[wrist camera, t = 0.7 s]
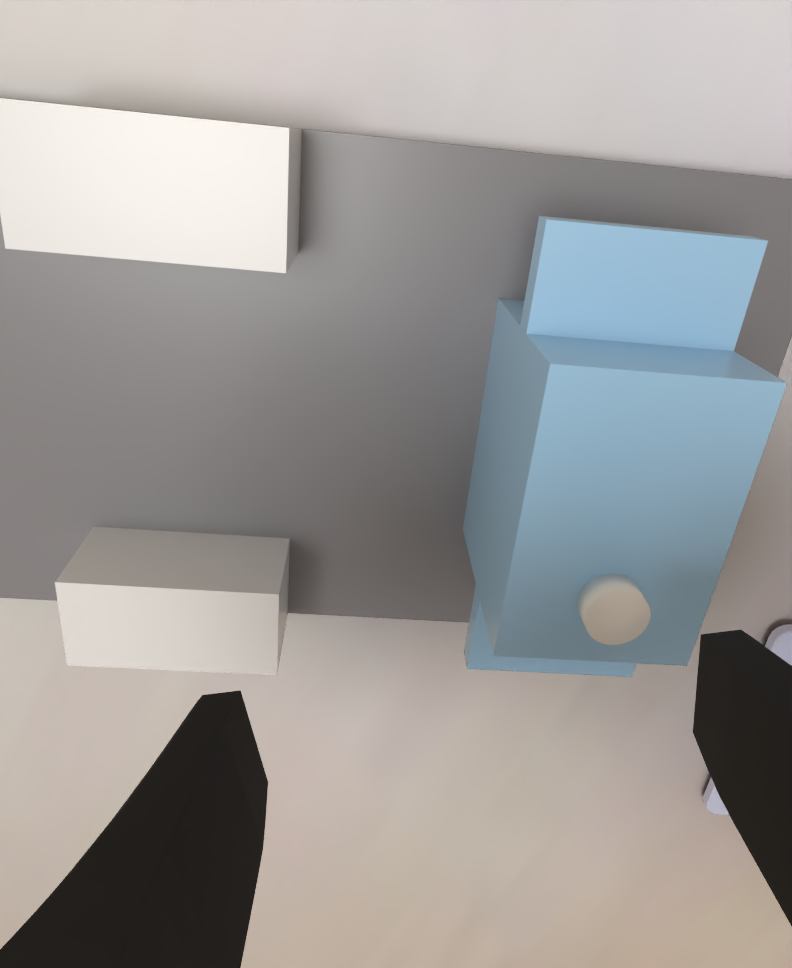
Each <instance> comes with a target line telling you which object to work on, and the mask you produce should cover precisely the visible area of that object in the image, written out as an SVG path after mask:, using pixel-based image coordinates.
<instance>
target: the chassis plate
mask: <svg viewBox="0 0 792 968" xmlns="http://www.w3.org/2000/svg"><path fill="white" fill-rule="evenodd" d="M539 216H546V217H556V218H567V219H577V220H587V221H598V222H608V223H618V224H629V225H639V226H650V227H660V228H670V229H681V230H691V231H701V232H712V233H722V234H732V235H743V236H752V237H756V238H760V239H763V240H767V241H768V243H767V246H766V250H765V253H764V256H763V259H762V262H761V266H760V269H759V272H758V275H757V278H756V282H755V285H754V288H753V291H752V294H751V298H750V301H749V304H748V307H747V310H746V314H745V317H744V320H743V323H742V326H741V330H740V333H739V336H738V339H737V342H736V346H735V349H734V352H736V353H738V354H739V355H741V356H743V357H744V358H746V359H748V360H749V361H751V362H753V363H754V364H756V365H758V366H760V367H761V368H763V369H765V370H766V371H768V372H770V373H771V374H773V375H775V376H776V377H778V374H779V371H780V368H781V365H782V362H783V360H784V357H785V354H786V351H787V348H788V345H789V342H790V339H791V336H792V179H783V178H773V177H763V176H754V175H744V174H734V173H724V172H715V171H705V170H695V169H686V168H676V167H666V166H657V165H647V164H637V163H627V162H618V161H608V160H598V159H589V158H579V157H569V156H560V155H550V154H540V153H531V152H521V151H511V150H501V149H492V148H482V147H472V146H463V145H453V144H443V143H434V142H424V141H414V140H404V139H395V138H385V137H375V136H366V135H356V134H346V133H337V132H327V131H317V130H308V129H298V128H288V127H278V126H269V125H259V124H249V123H240V122H230V121H220V120H211V119H201V118H191V117H181V116H172V115H162V114H152V113H143V112H133V111H123V110H114V109H104V108H94V107H85V106H75V105H65V104H55V103H46V102H36V101H26V100H17V99H7V98H0V598H18V599H37V600H56V601H58V608H59V615H60V621H61V628H62V635H63V642H64V649H65V655H66V662H67V665H71V666H92V667H113V668H135V669H156V670H178V671H199V672H221V673H242V674H263V675H277V673H278V667H279V661H280V655H281V649H282V643H283V637H284V631H285V625H286V619H287V613H300V614H319V615H338V616H357V617H376V618H395V619H413V620H432V621H451V622H469V621H470V615H471V609H472V603H473V598H474V592H475V586H476V582H475V578H474V574H473V570H472V566H471V562H470V557H469V553H468V549H467V545H466V541H465V536H464V532H463V525H464V518H465V512H466V505H467V499H468V492H469V486H470V480H471V473H472V467H473V460H474V454H475V447H476V441H477V435H478V428H479V422H480V415H481V409H482V402H483V396H484V390H485V383H486V377H487V370H488V364H489V357H490V351H491V344H492V338H493V332H494V325H495V319H496V312H497V306H498V299H508V300H519V301H525V295H526V289H527V283H528V277H529V272H530V266H531V260H532V254H533V248H534V242H535V237H536V231H537V225H538V219H539Z"/></svg>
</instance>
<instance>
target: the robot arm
mask: <svg viewBox="0 0 792 968" xmlns="http://www.w3.org/2000/svg"><path fill="white" fill-rule="evenodd" d="M693 733H694V736H695V738H696V741H697V743H698V746H699V748H700V751H701V754H702V756H703V759H704V761H705V764H706V766H707V768H708V771H709V773H710V775H711V779H710V781H709V783H708V786H707V788H706V791H705V793H704V796H703V802H704V804H705V806H706V808H707V810H708V811H709V812H710V813H713V814H720V815H730V817H731V818H732V820H733V822H734V824H735V826H736V828H737V829H738V831H739V833H740V835H741V837H742V838H743V840H744V842H745V844H746V846H747V847H748V849H749V851H750V853H751V855H752V856H753V858H754V860H755V862H756V863H757V865H758V867H759V869H760V871H761V872H762V874H763V876H764V878H765V879H766V881H767V883H768V885H769V887H770V888H771V890H772V892H773V894H774V896H775V897H776V899H777V901H778V903H779V904H780V906H781V908H782V910H783V912H784V913H785V915H786V917H787V919H788V921H789V922H790V924H791V926H792V624H787V625H782V626H779V627H777V628H776V629H775V630H773V631H772V632H771V634H770V636H769V637H768V640H767V642H766V645H765V646H764V645H762V644H761V643H759V642H758V641H757V640H755V639H754V638H752V637H751V636H749V635H748V634H746V633H745V632H744V631H742V630H735V631H726V632H718V633H710V634H702V635H701V641H700V653H699V665H698V677H697V689H696V701H695V714H694V726H693ZM267 788H268V781H267V778H266V774H265V771H264V768H263V764H262V761H261V758H260V754H259V751H258V748H257V744H256V741H255V738H254V734H253V731H252V728H251V724H250V721H249V718H248V714H247V711H246V708H245V704H244V701H243V698H242V694H241V691H234V692H225V693H217V694H209V695H202V697H201V698H200V699H199V700H198V701H197V703H196V704H195V705H194V707H193V708H192V710H191V711H190V713H189V714H188V715H187V717H186V718H185V720H184V721H183V723H182V724H181V725H180V727H179V728H178V730H177V731H176V733H175V734H174V736H173V737H172V738H171V740H170V741H169V743H168V744H167V746H166V747H165V748H164V750H163V751H162V753H161V754H160V755H159V757H158V758H157V760H156V761H155V762H154V764H153V765H152V767H151V768H150V770H149V771H148V772H147V774H146V775H145V776H144V778H143V779H142V780H141V782H140V783H139V784H138V786H137V787H136V788H135V790H134V791H133V793H132V794H131V795H130V797H129V798H128V799H127V801H126V802H125V803H124V805H123V806H122V807H121V809H120V810H119V811H118V813H117V814H116V815H115V817H114V818H113V819H112V821H111V822H110V823H109V824H108V826H107V827H106V828H105V829H104V831H103V832H102V833H101V834H100V836H99V837H98V838H97V839H96V841H95V842H94V843H93V844H92V845H91V847H90V848H89V849H88V850H87V852H86V853H85V854H84V855H83V857H82V858H81V859H80V860H79V862H78V863H77V864H76V865H75V867H74V868H73V869H72V870H71V871H70V873H69V874H68V875H67V876H66V877H65V879H64V880H63V881H62V882H61V883H60V884H59V886H58V887H57V888H56V889H55V890H54V891H53V892H52V894H51V895H50V896H49V897H48V898H47V899H46V900H45V902H44V903H43V904H42V905H41V906H40V907H39V908H38V909H37V911H36V912H35V913H34V914H33V915H32V916H31V917H30V918H29V919H28V920H27V921H26V923H25V924H24V925H23V926H22V927H21V928H20V929H19V930H18V931H17V932H16V933H15V935H14V936H13V937H12V938H11V939H10V940H9V941H8V942H7V943H6V944H5V945H4V946H3V947H2V948H1V949H0V968H240V967H241V961H242V956H243V951H244V946H245V941H246V936H247V930H248V925H249V920H250V915H251V910H252V905H253V899H254V894H255V889H256V883H257V878H258V873H259V867H260V862H261V856H262V850H263V841H264V830H265V818H266V803H267Z"/></svg>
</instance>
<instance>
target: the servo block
mask: <svg viewBox="0 0 792 968" xmlns="http://www.w3.org/2000/svg"><path fill="white" fill-rule="evenodd" d="M767 243H768V241H767V240H763V239H760V238H756V237H752V236H743V235H732V234H722V233H712V232H701V231H691V230H681V229H670V228H660V227H650V226H639V225H629V224H618V223H608V222H598V221H587V220H577V219H567V218H556V217H546V216H539V219H538V225H537V231H536V237H535V242H534V248H533V254H532V260H531V266H530V272H529V277H528V283H527V289H526V295H525V301H519V300H508V299H498V306H497V312H496V319H495V325H494V332H493V338H492V344H491V351H490V357H489V364H488V370H487V377H486V383H485V390H484V396H483V402H482V409H481V415H480V422H479V428H478V435H477V441H476V447H475V454H474V460H473V467H472V473H471V480H470V486H469V492H468V499H467V505H466V512H465V518H464V525H463V532H464V536H465V541H466V545H467V549H468V553H469V557H470V562H471V566H472V570H473V574H474V578H475V582H476V586H475V592H474V598H473V603H472V609H471V615H470V621H469V627H468V632H467V638H466V644H465V650H464V654H465V660H466V665H467V669H479V670H500V671H521V672H542V673H562V674H583V675H604V676H624V677H632V675H633V672H634V669H635V666H636V663H643V664H663V665H683V666H687V665H688V662H689V659H690V657H691V654H692V651H693V648H694V645H695V642H696V640H697V637H698V634H699V631H700V628H701V625H702V623H703V620H704V617H705V614H706V611H707V609H708V606H709V603H710V600H711V597H712V594H713V592H714V589H715V586H716V583H717V580H718V578H719V575H720V572H721V569H722V566H723V563H724V561H725V558H726V555H727V552H728V549H729V546H730V544H731V541H732V538H733V535H734V532H735V530H736V527H737V524H738V521H739V518H740V515H741V513H742V510H743V507H744V504H745V501H746V499H747V496H748V493H749V490H750V487H751V484H752V482H753V479H754V476H755V473H756V470H757V467H758V465H759V462H760V459H761V456H762V453H763V451H764V448H765V445H766V442H767V439H768V436H769V434H770V431H771V428H772V425H773V422H774V420H775V417H776V414H777V411H778V408H779V405H780V403H781V400H782V397H783V394H784V391H785V388H786V386H787V382H785V381H783V380H781V379H780V378H778V377H776V376H775V375H773V374H771V373H770V372H768V371H766V370H765V369H763V368H761V367H760V366H758V365H756V364H754V363H753V362H751V361H749V360H748V359H746V358H744V357H743V356H741V355H739V354H738V353H736V352H734V349H735V346H736V342H737V339H738V336H739V333H740V330H741V326H742V323H743V320H744V317H745V314H746V310H747V307H748V304H749V301H750V298H751V294H752V291H753V288H754V285H755V282H756V278H757V275H758V272H759V269H760V266H761V262H762V259H763V256H764V253H765V250H766V246H767Z"/></svg>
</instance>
